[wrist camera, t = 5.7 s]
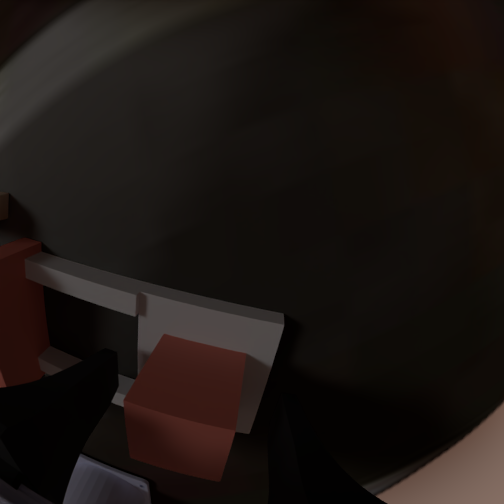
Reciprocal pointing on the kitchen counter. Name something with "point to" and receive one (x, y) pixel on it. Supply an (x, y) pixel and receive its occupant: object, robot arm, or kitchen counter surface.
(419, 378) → the kitchen counter surface
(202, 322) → the white rails red ends
